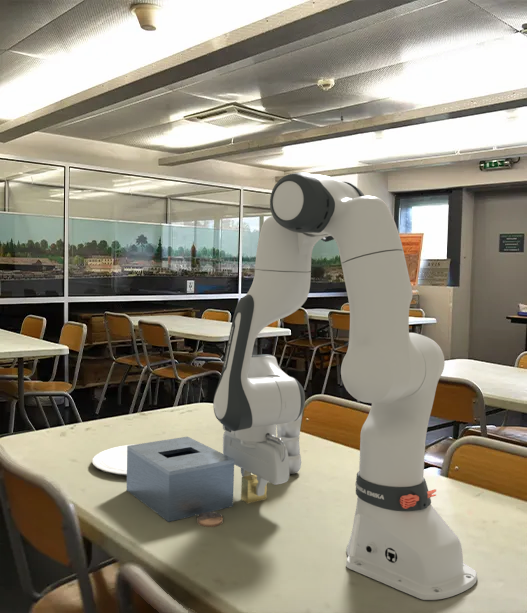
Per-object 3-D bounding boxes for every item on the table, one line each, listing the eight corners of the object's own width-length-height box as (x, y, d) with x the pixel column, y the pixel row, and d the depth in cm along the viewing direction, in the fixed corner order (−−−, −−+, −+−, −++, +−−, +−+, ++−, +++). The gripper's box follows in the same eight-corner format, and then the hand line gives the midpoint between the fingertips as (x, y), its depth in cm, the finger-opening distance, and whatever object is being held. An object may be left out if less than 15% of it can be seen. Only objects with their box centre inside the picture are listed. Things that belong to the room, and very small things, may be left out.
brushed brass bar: (266, 498, 134) (267, 476, 134) (247, 503, 131) (248, 480, 131) (259, 495, 136) (260, 473, 136) (241, 499, 133) (241, 477, 133)
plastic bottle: (299, 478, 148) (301, 395, 147) (271, 475, 149) (273, 393, 148) (302, 469, 154) (305, 390, 153) (276, 467, 156) (278, 388, 154)
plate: (122, 489, 138) (123, 481, 138) (74, 461, 157) (74, 454, 156) (213, 468, 154) (213, 460, 154) (159, 445, 173) (159, 438, 173)
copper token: (227, 524, 121) (227, 518, 121) (205, 530, 118) (205, 524, 118) (214, 515, 125) (214, 510, 125) (192, 521, 122) (192, 515, 122)
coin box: (233, 506, 129) (234, 459, 129) (168, 521, 121) (169, 471, 120) (186, 478, 146) (187, 436, 145) (126, 490, 137) (127, 445, 136)
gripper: (297, 438, 126) (295, 504, 127) (241, 417, 143) (240, 475, 144) (272, 442, 123) (270, 511, 123) (218, 420, 139) (216, 480, 140)
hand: (253, 491), depth 134 cm, fingers closed on brushed brass bar, 2 cm apart
